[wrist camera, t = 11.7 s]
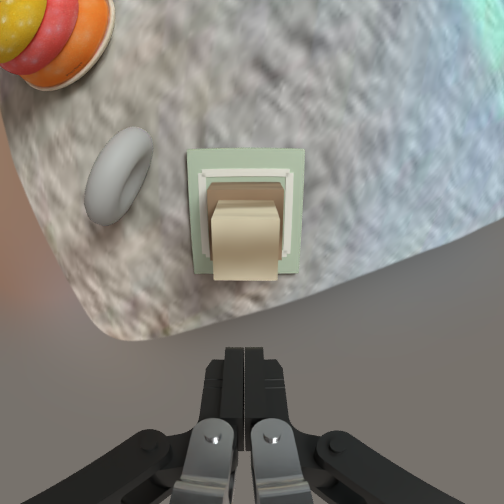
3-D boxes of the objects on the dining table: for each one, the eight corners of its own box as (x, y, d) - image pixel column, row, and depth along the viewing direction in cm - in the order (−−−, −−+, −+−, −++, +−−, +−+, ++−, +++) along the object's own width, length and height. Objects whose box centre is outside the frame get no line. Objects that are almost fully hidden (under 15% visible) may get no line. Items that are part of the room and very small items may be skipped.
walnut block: (211, 182, 31) (206, 190, 27) (279, 182, 31) (284, 189, 27) (214, 245, 34) (210, 260, 30) (278, 245, 34) (281, 260, 30)
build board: (188, 149, 30) (186, 150, 30) (303, 148, 30) (304, 149, 30) (195, 270, 36) (194, 274, 35) (297, 270, 36) (298, 273, 35)
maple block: (218, 200, 28) (211, 219, 22) (273, 200, 28) (279, 219, 22) (220, 250, 30) (213, 280, 24) (272, 250, 30) (277, 280, 24)
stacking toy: (106, -30, 20) (21, -98, 2) (136, 50, 26) (26, -7, 8) (19, 32, 22) (-85, 15, 4) (41, 113, 28) (-84, 130, 10)
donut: (134, 214, 33) (97, 247, 24) (110, 202, 32) (66, 231, 23) (169, 133, 30) (136, 136, 20) (141, 121, 29) (100, 121, 20)
